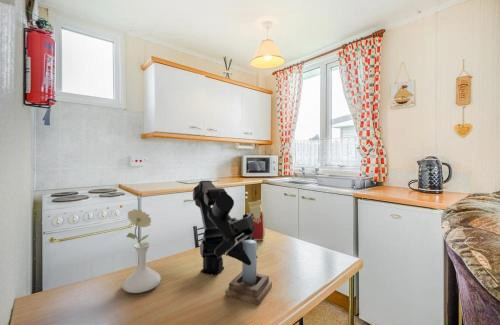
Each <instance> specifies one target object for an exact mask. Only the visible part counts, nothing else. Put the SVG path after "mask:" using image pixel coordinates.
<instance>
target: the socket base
mask: <svg viewBox="0 0 500 325" xmlns="http://www.w3.org/2000/svg"><path fill="white" fill-rule="evenodd" d="M269 278H270V276H269V275H266V274H261V273H258V272H256V283H255V284H253V285H246V284H244V283H243V282H242V270H241V271H240V272H239V273H238V274H237V275H235V277H234V278H233V279H232V280H231V281H230V282H229V283H228V287H227V289H225V292H224V293H225V296H226V297H230V298H233V299H237V300H240V301H242V302H243V301H244V302H248V303H251V304H254V305H257V306H260V304H261V303H262V301H263V299H264V298H265V297H266V295H267V294H268V292H269V291H270V290H271V288H272V287H273V284H272V283H273V282H272V281H270V279H269Z"/></svg>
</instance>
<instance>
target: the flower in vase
mask: <svg viewBox="0 0 500 325" xmlns="http://www.w3.org/2000/svg"><path fill="white" fill-rule="evenodd" d="M149 216H150V214H148V213H147V212H145V211H143V210H142V209H139V210H138V209H137V208H134V209H132V210H129V211H128V212H127V218H128V219H129V221H130V222H131V223H132V224H133V225H134V226H135V228H134V233H132V232H128V234H127V235H126V238H130V239H132V240H135V239H136V240H137V243H134V244H133V248H134V249H135V251H136V253H137V259H138V261H137V262H138V265H137V267H136V269H135V270H134V271H133V272H132V273H131V274H129V275H128V276H127V277H126V278H125V279H124V280H123V283H122V285H121V286H122V289H123V290H124V291H125V292H126V293H130V294H140V293H145V292H149V291H150V290H152V289H154V288H156V287H157V286H158V285H160V282H161V281H162V276H161V274H160V273H158V272H157V271H156V270H154V269H152V268H150V267H149V266H148V265H147V253H148V249H149V247H150V246H151V242H150V241H144V240H145V239H147V238H148V237H149V234H147V235H144V236H142V237H141V238H140V239H139V238H138V236H137V233H136V232H137V229H138V228H137V227H139V228H145V227H150V226H151V223H152V222H151V221H152V220H151V219H152V218H151V217H149Z"/></svg>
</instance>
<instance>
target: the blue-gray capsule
mask: <svg viewBox="0 0 500 325" xmlns="http://www.w3.org/2000/svg"><path fill="white" fill-rule="evenodd" d="M257 246H258V242H257V240H245V241H243V250H244V251H245V253H246V255H247V256H248V258H249V259H250V261H251V264H250V265H247V264H245V263H243V262H242V270H241V271H242V282H243V283H244V284H246V285H253V284H255V283H256V273H257V260H258V258H257V257H258V255H257V251H258V250H257V249H258V247H257Z"/></svg>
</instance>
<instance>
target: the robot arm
mask: <svg viewBox="0 0 500 325" xmlns="http://www.w3.org/2000/svg"><path fill="white" fill-rule="evenodd" d="M192 190H193V191H192V200H193V201H194V204H195V206H197V207H198V208H199V210H200V216H201V220H202V225H203V230H204V232H203V234H202V235H203V236H202V240H201V242H200V244H199V245H200V246H199V254H200V255H201V258H202V269H201V270H200V273H202V274H206V275H210V276H216V275H218V274H219V273H220V272H222V271H223V270H224V269H225V266H224V258H223V255H225V256H226V257H227V256H228V257H231V258H233V259H236V261H239V262H241V263H242V264H243V263H245V264H247V265H250V264H251V261H250V259H249V258H248V256H247V255H246V253H245V251H244V250H243V241H245V240H252V235H253V232H254V231H255V230H256V228H255V227H254V226H253V225H254V222H253V219H254V217H252V215H250V212H247V213H244V214H242V218H240V219H237V218H236V217H233V218H232V216H231V215H230V213H231V211H232V209H233V208H234V205H235V200H234V199H233V198H232V196H230V195H229V193H228V192H227V191H226V189H225V188H223V187H216V186H215V185H214V183H213V182H212V181H211V180H200V181H199V182H198V184H197V185H196V186H195V187H194V188H193V189H192ZM251 233H252V234H251ZM238 241H239V242H238ZM226 252H227V253H226ZM257 259H258V256H257Z"/></svg>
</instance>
